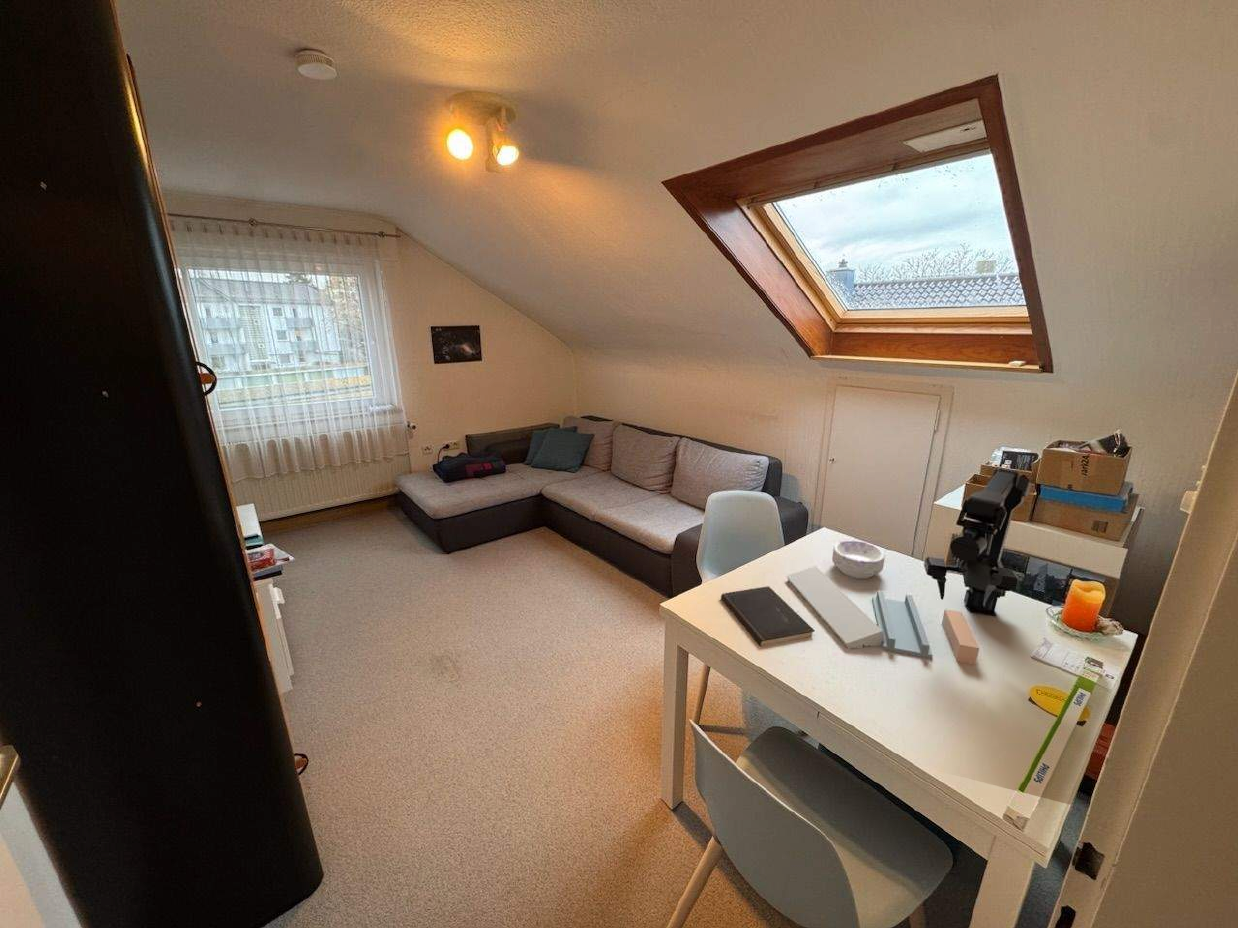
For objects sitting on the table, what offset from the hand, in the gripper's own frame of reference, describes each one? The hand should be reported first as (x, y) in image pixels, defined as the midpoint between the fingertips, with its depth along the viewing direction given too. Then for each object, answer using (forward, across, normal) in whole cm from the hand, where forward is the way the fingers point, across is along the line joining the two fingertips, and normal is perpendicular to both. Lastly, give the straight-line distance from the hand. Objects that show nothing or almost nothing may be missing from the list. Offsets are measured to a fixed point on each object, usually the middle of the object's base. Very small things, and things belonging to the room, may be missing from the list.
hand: (962, 602), depth 126 cm
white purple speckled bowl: (+12, -22, +31) cm, 40 cm away
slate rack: (+12, -12, +3) cm, 17 cm away
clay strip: (+12, +1, 0) cm, 12 cm away
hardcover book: (+13, -47, -6) cm, 49 cm away
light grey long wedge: (+13, -30, +4) cm, 33 cm away
